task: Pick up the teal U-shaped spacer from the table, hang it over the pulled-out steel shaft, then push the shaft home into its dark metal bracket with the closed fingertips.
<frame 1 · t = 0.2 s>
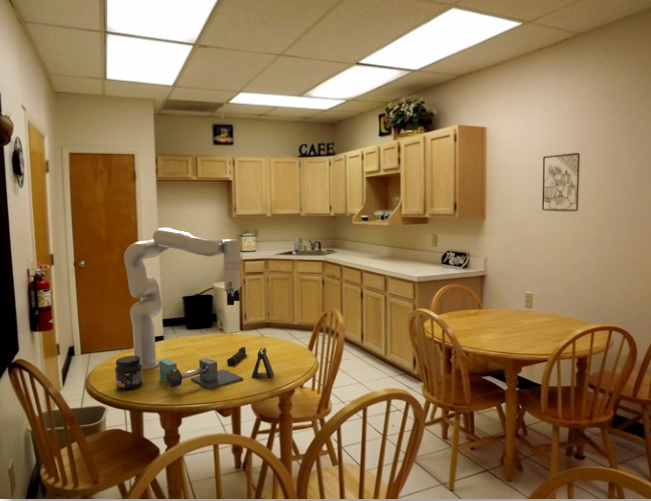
hand: (233, 302, 217), 31 cm above the table, tool pointing down, fingers open, 9 cm apart
spacer: (168, 382, 202), on the table
shaft: (192, 373, 195), point 6 cm above the table, slide at 8.0 cm
phone stand: (262, 376, 208), on the table
supplement container: (129, 387, 198), on the table
hand tool: (237, 360, 232), on the table
bracket: (208, 370, 201), on the base plate, point 5 cm above the table
base plate: (217, 378, 204), on the table
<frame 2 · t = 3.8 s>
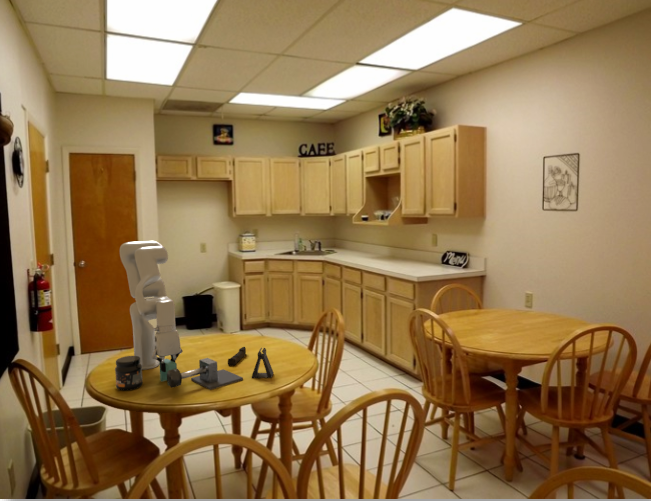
hand: (168, 369, 202), 5 cm above the table, tool pointing down, fingers closed on spacer, 3 cm apart
spacer: (168, 382, 202), on the table, touching gripper
everything else where it was.
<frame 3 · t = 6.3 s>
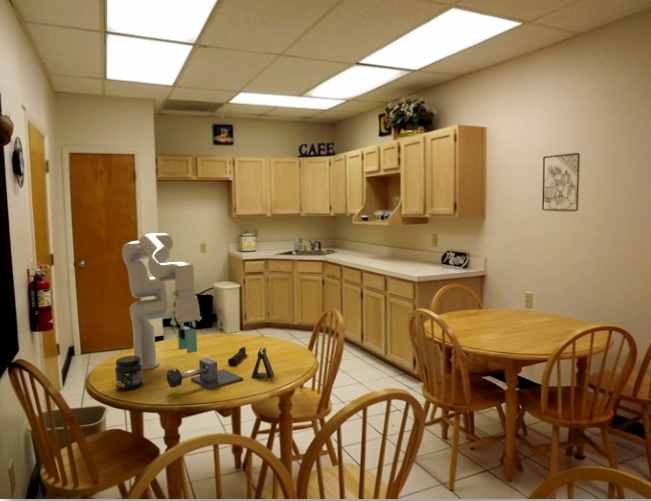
hand: (187, 337, 193), 22 cm above the table, tool pointing down, fingers closed on spacer, 3 cm apart
spacer: (187, 350, 194), point 16 cm above the table, touching gripper
everything else where it was.
when the fingers open (8 cm above the table, at t = 9.1 s): spacer stays where it is, resting on shaft.
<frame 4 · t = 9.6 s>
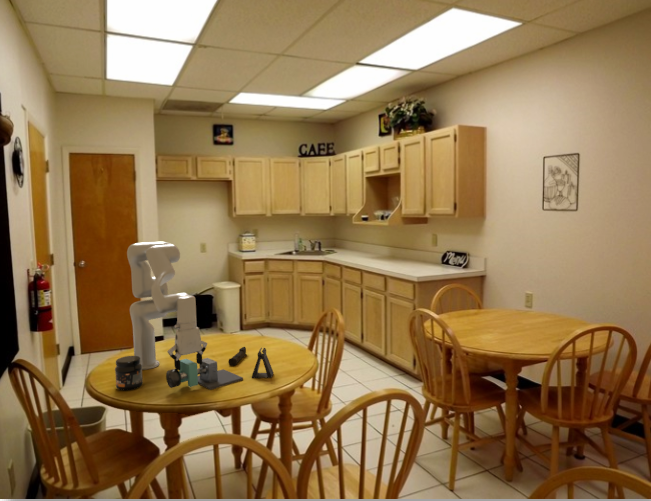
hand: (188, 366, 194), 9 cm above the table, tool pointing down, fingers open, 9 cm apart
spacer: (188, 383, 194), point 2 cm above the table, touching shaft
shaft: (191, 373, 195), point 6 cm above the table, slide at 8.3 cm, touching gripper, spacer
everything else where it was.
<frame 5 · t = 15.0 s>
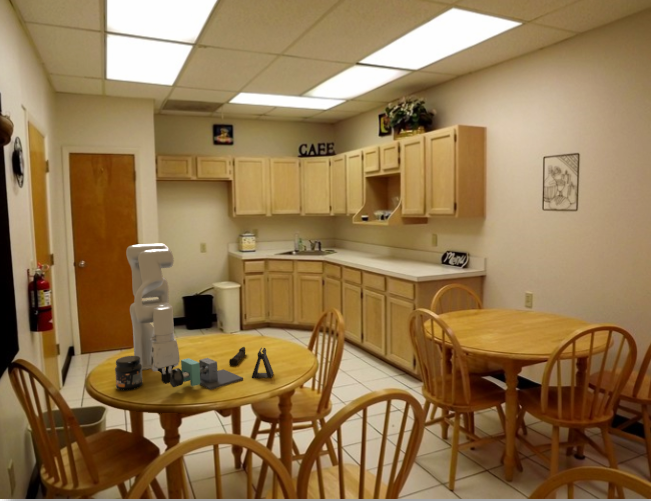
hand: (166, 382, 188), 5 cm above the table, tool pointing down, fingers closed
spacer: (191, 382, 195), point 2 cm above the table, touching shaft
shaft: (194, 372, 196), point 6 cm above the table, slide at 7.2 cm, touching gripper, spacer
everything else where it was.
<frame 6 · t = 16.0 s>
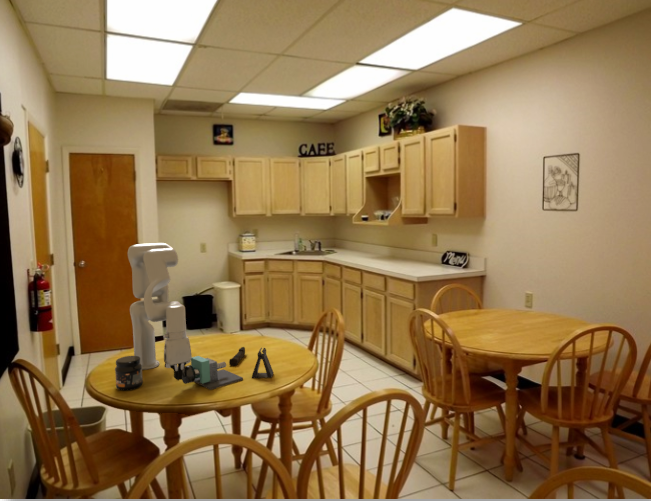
hand: (178, 379, 191), 5 cm above the table, tool pointing down, fingers closed
spacer: (200, 379, 198), point 2 cm above the table, touching bracket, shaft
shaft: (205, 369, 200), point 6 cm above the table, slide at 2.0 cm, touching gripper, spacer
everything else where it was.
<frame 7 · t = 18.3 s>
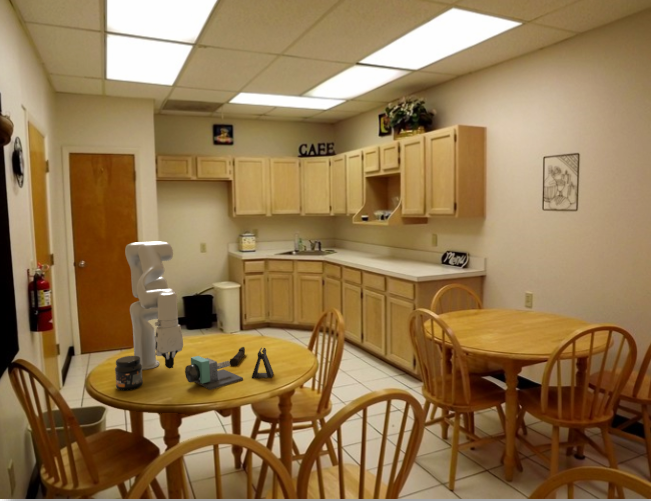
hand: (169, 367, 189), 11 cm above the table, tool pointing down, fingers closed
spacer: (200, 379, 198), point 2 cm above the table, touching shaft
shaft: (209, 368, 201), point 6 cm above the table, slide at 0.0 cm, touching spacer
everything else where it was.
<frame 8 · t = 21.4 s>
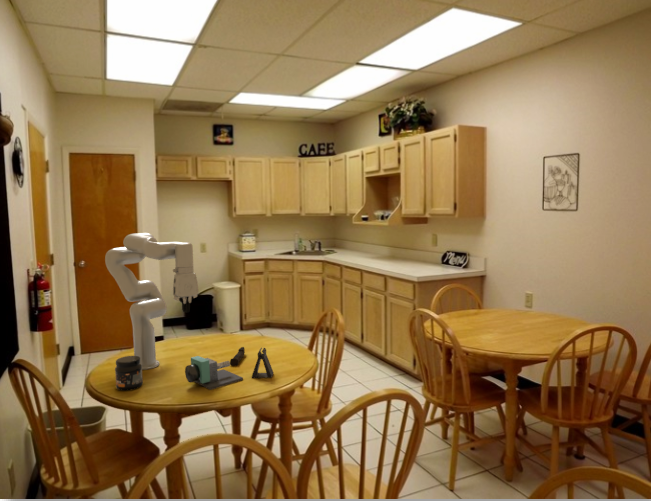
hand: (186, 311, 207), 29 cm above the table, tool pointing down, fingers closed
nothing on the table moved.
at the end: shaft slide at 0.0 cm; spacer 0.2 cm from the target spot, point 2.2 cm above the table; spacer tilted 0° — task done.
